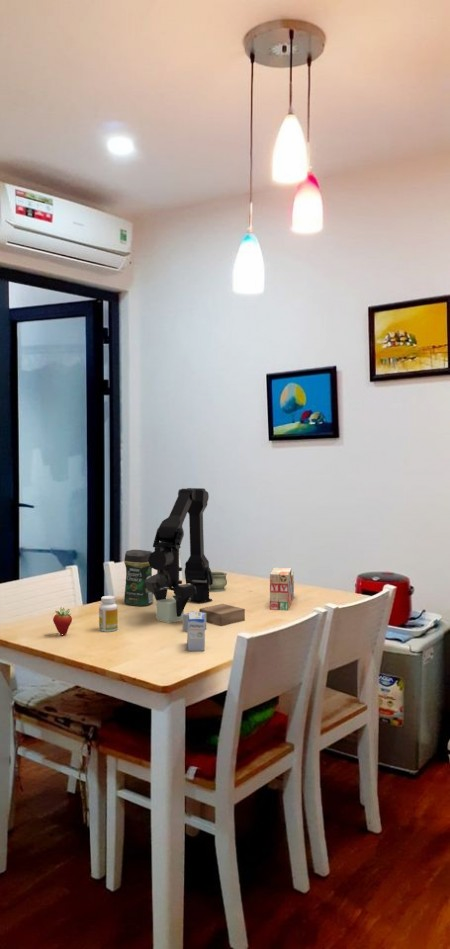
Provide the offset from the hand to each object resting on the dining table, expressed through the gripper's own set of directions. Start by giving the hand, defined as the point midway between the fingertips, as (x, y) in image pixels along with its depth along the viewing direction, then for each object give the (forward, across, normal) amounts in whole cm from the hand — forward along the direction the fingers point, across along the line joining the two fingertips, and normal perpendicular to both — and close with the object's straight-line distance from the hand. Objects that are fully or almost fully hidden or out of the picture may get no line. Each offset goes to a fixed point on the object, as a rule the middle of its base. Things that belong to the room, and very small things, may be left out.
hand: (170, 614), depth 221 cm
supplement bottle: (+2, -3, -21) cm, 21 cm away
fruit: (+2, -7, -34) cm, 35 cm away
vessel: (+2, -23, +41) cm, 47 cm away
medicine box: (+2, +28, -14) cm, 31 cm away
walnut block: (+2, +12, +11) cm, 16 cm away
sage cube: (+2, 0, 0) cm, 2 cm away
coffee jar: (+2, -24, +6) cm, 25 cm away
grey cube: (+2, +15, -3) cm, 15 cm away
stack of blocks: (+2, +9, +43) cm, 44 cm away
